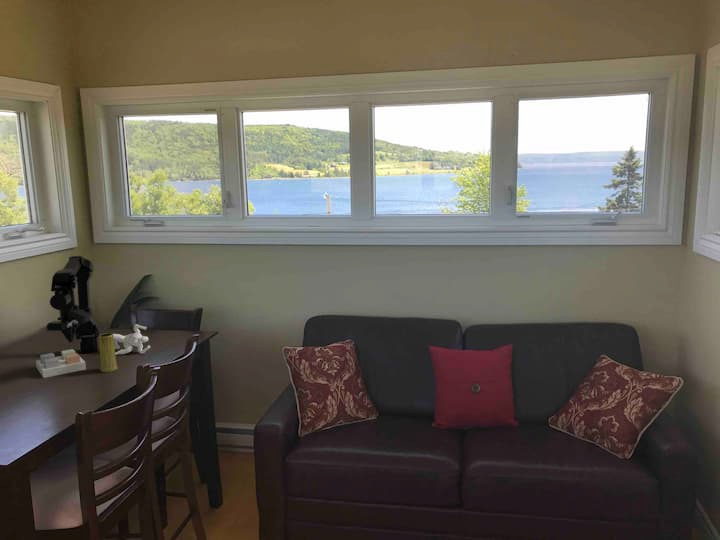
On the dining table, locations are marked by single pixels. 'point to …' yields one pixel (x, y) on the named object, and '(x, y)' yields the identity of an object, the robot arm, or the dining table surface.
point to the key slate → (46, 356)
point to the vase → (107, 352)
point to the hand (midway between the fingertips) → (70, 342)
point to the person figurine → (131, 341)
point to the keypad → (60, 367)
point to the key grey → (51, 362)
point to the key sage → (67, 353)
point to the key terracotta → (72, 358)
